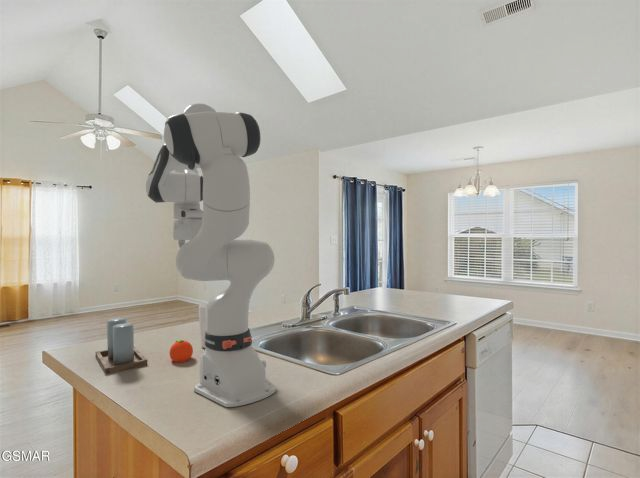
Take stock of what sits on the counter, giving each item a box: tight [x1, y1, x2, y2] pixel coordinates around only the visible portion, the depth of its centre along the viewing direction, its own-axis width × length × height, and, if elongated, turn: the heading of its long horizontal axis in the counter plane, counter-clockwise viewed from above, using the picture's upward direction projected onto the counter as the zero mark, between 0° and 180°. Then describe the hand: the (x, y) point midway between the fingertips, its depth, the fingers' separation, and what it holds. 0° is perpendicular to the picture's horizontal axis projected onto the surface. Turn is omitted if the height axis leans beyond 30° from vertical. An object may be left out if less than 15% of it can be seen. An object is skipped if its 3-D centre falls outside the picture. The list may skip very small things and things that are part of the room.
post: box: [106, 317, 127, 360], centre depth 117 cm, size 6×6×12 cm
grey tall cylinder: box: [113, 322, 135, 366], centre depth 110 cm, size 6×6×12 cm
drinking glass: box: [198, 303, 208, 349], centre depth 130 cm, size 7×7×15 cm
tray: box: [95, 346, 148, 375], centre depth 114 cm, size 19×11×2 cm, turn 39°
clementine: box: [169, 339, 194, 363], centre depth 114 cm, size 8×7×7 cm
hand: (187, 253), depth 127 cm, fingers open, 8 cm apart
